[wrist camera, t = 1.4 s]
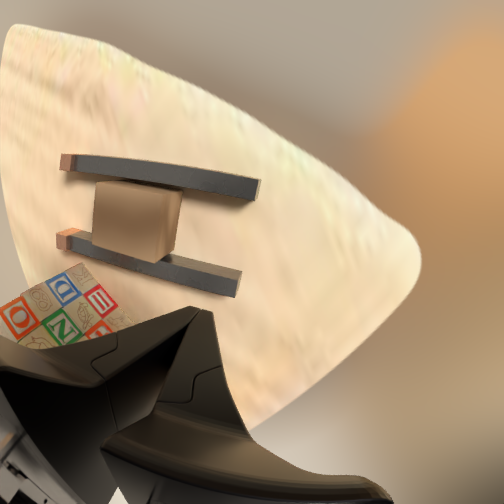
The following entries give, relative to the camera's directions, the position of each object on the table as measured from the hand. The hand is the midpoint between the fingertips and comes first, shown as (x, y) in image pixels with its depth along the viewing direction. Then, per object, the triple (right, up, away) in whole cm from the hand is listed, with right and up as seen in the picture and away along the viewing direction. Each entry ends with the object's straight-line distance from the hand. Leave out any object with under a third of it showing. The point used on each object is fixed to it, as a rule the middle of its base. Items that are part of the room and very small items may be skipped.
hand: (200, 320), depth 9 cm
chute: (-7, +6, +13) cm, 16 cm away
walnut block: (-7, +6, +13) cm, 16 cm away
